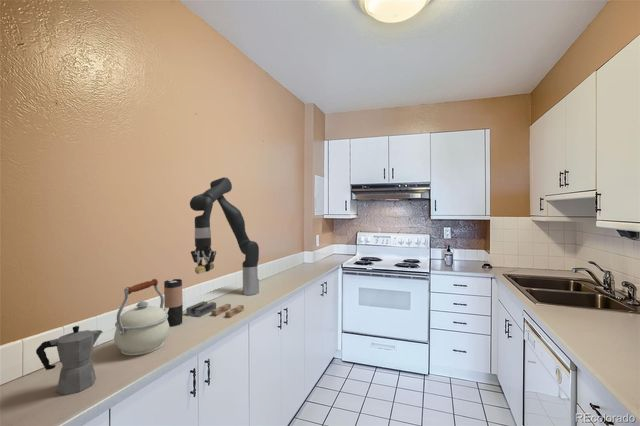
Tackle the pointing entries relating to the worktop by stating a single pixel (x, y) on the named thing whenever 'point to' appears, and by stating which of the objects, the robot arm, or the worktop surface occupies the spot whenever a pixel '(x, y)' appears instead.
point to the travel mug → (173, 301)
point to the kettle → (141, 324)
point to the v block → (200, 309)
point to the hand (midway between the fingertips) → (204, 271)
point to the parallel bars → (228, 313)
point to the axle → (203, 268)
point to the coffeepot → (72, 359)
